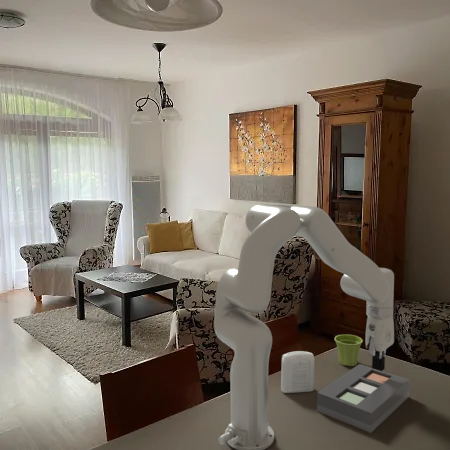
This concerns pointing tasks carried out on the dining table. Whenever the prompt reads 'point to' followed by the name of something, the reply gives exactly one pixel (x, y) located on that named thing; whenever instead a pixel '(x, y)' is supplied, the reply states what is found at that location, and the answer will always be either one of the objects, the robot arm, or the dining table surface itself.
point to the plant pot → (348, 349)
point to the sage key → (351, 398)
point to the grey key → (365, 387)
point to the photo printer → (297, 372)
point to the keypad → (371, 404)
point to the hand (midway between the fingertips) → (378, 368)
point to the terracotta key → (377, 378)
